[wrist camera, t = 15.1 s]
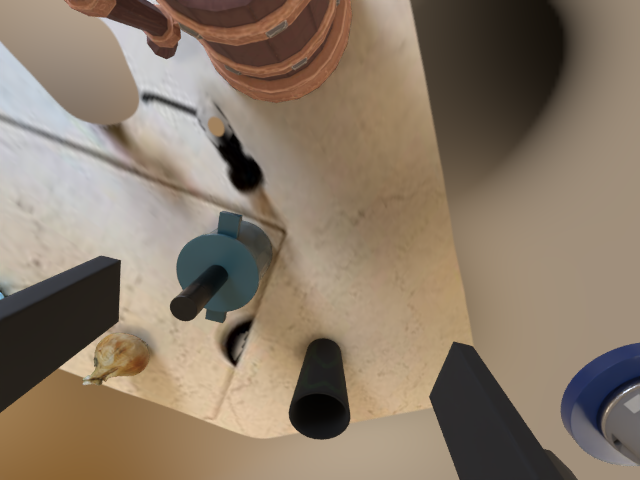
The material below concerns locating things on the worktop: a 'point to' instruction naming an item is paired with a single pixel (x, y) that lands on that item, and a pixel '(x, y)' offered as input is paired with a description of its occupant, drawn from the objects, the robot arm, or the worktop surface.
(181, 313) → the lid
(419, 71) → the worktop surface
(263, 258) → the pot
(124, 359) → the onion
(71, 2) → the mug
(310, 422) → the cup
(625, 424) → the robot arm
